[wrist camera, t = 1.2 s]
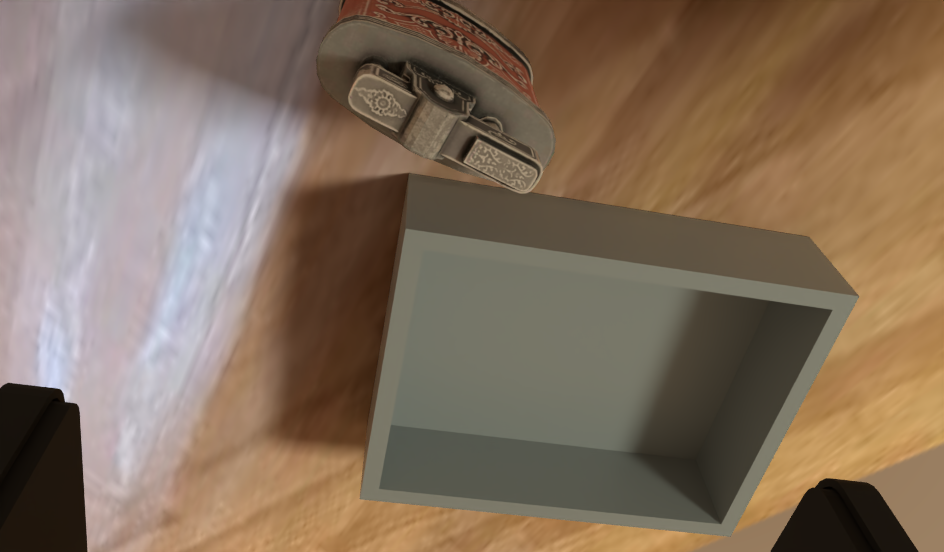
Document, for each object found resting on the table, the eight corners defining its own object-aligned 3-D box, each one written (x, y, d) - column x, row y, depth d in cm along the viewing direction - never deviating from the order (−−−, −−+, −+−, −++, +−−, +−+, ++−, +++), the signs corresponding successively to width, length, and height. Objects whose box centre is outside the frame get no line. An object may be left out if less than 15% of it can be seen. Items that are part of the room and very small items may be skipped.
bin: (809, 236, 36) (859, 296, 32) (701, 464, 44) (730, 536, 39) (408, 173, 34) (405, 228, 29) (367, 426, 41) (359, 499, 37)
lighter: (325, 30, 30) (284, 123, 22) (363, -52, 29) (335, 14, 20) (504, 125, 33) (529, 242, 24) (547, 54, 31) (590, 153, 23)
